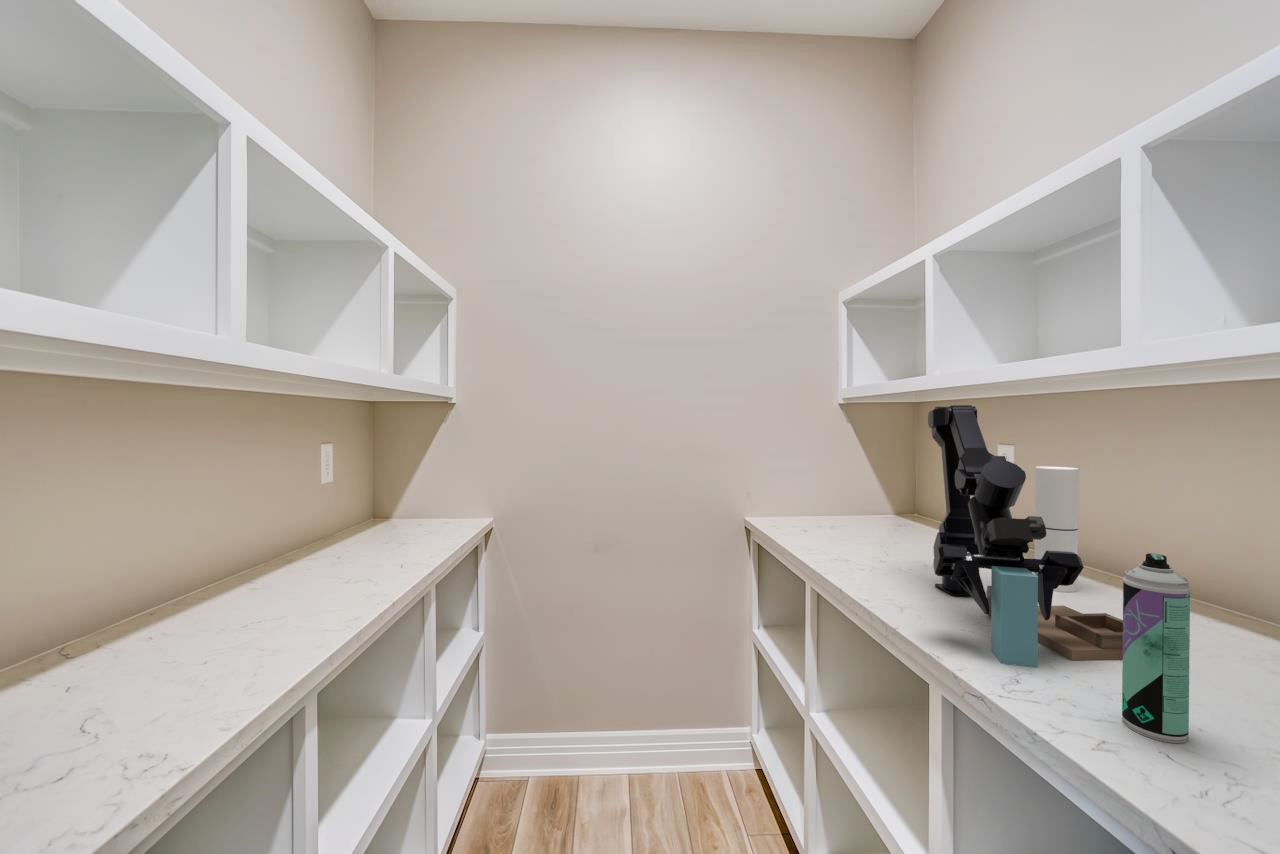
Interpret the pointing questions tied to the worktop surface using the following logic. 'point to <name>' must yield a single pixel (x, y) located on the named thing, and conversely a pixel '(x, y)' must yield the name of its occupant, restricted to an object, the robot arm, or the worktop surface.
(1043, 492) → the cylindrical container
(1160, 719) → the spray can
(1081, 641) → the walnut base board
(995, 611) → the teal column
